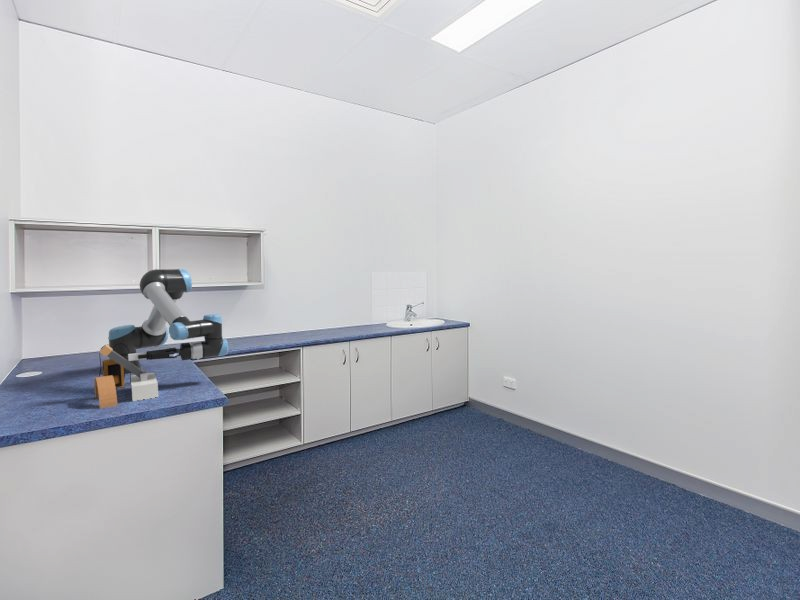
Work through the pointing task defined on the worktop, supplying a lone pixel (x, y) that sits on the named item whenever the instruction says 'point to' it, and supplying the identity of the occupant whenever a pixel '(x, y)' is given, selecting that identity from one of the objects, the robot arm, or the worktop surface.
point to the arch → (106, 391)
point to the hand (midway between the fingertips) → (128, 357)
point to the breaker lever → (121, 360)
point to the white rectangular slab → (144, 386)
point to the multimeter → (114, 370)
